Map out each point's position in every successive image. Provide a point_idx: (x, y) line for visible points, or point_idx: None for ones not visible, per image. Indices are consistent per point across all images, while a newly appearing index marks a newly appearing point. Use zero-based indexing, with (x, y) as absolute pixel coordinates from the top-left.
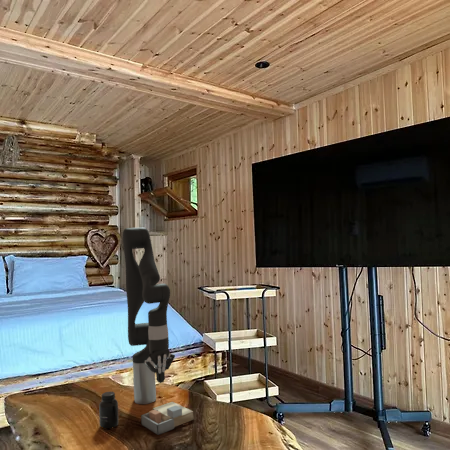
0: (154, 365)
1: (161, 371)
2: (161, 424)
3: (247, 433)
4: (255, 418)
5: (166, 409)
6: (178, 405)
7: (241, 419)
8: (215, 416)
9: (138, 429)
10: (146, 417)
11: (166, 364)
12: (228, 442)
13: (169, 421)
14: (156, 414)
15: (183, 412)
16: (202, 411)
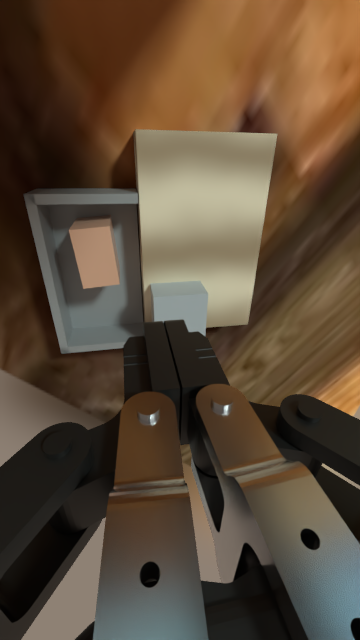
0: (109, 515)
1: (191, 442)
2: (83, 348)
3: None
4: (336, 407)
5: (185, 216)
6: (256, 218)
7: (315, 393)
8: (295, 336)
9: (7, 228)
10: (43, 249)
11: (354, 450)
12: None
13: (123, 345)
14: (91, 287)
15: (216, 307)
16: (306, 272)
